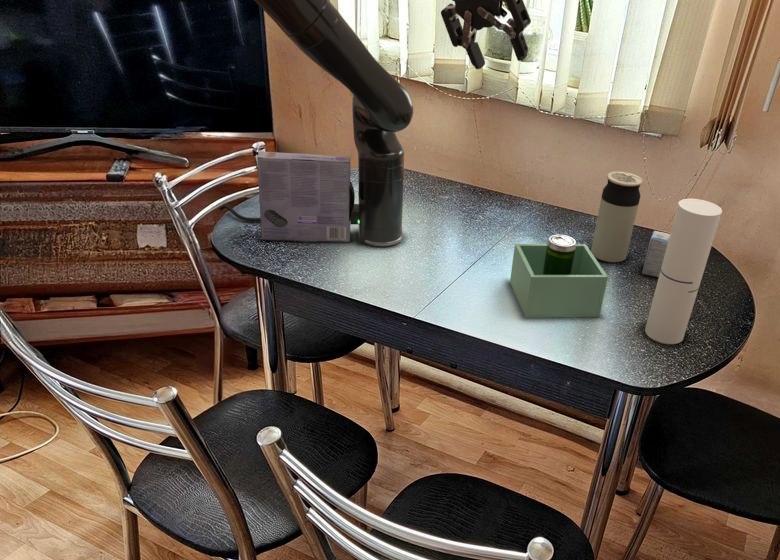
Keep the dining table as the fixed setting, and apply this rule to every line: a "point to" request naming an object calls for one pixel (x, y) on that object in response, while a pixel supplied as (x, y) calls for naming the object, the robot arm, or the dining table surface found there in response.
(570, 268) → the beer can
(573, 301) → the bin
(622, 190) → the travel mug
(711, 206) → the cylindrical container
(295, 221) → the cake pan box
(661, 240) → the medicine box
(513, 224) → the dining table surface
